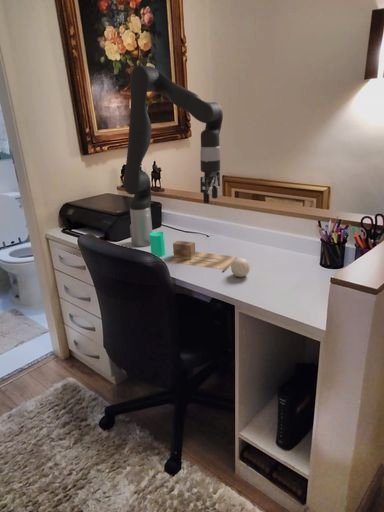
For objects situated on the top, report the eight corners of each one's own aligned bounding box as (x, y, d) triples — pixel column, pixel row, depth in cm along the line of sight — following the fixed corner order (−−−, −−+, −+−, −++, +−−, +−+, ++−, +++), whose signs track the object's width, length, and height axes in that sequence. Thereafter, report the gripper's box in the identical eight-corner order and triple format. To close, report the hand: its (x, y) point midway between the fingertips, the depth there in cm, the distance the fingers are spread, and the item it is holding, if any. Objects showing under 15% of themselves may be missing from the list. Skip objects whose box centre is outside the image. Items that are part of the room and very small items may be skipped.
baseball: (234, 281, 136) (234, 263, 133) (228, 273, 142) (228, 256, 140) (252, 279, 137) (253, 261, 134) (246, 271, 143) (246, 254, 141)
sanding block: (173, 257, 157) (172, 243, 155) (178, 254, 160) (177, 240, 158) (191, 259, 154) (190, 245, 152) (195, 256, 157) (194, 242, 155)
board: (168, 264, 153) (167, 261, 153) (184, 252, 165) (183, 250, 165) (223, 272, 143) (223, 269, 143) (236, 259, 155) (236, 256, 154)
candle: (168, 255, 163) (166, 228, 159) (161, 260, 158) (159, 232, 154) (156, 253, 166) (153, 227, 161) (148, 258, 161) (146, 231, 156)
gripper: (208, 156, 153) (208, 196, 159) (193, 161, 141) (194, 204, 147) (226, 156, 150) (225, 197, 156) (212, 161, 138) (212, 205, 144)
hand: (210, 200), depth 151 cm, fingers open, 8 cm apart
